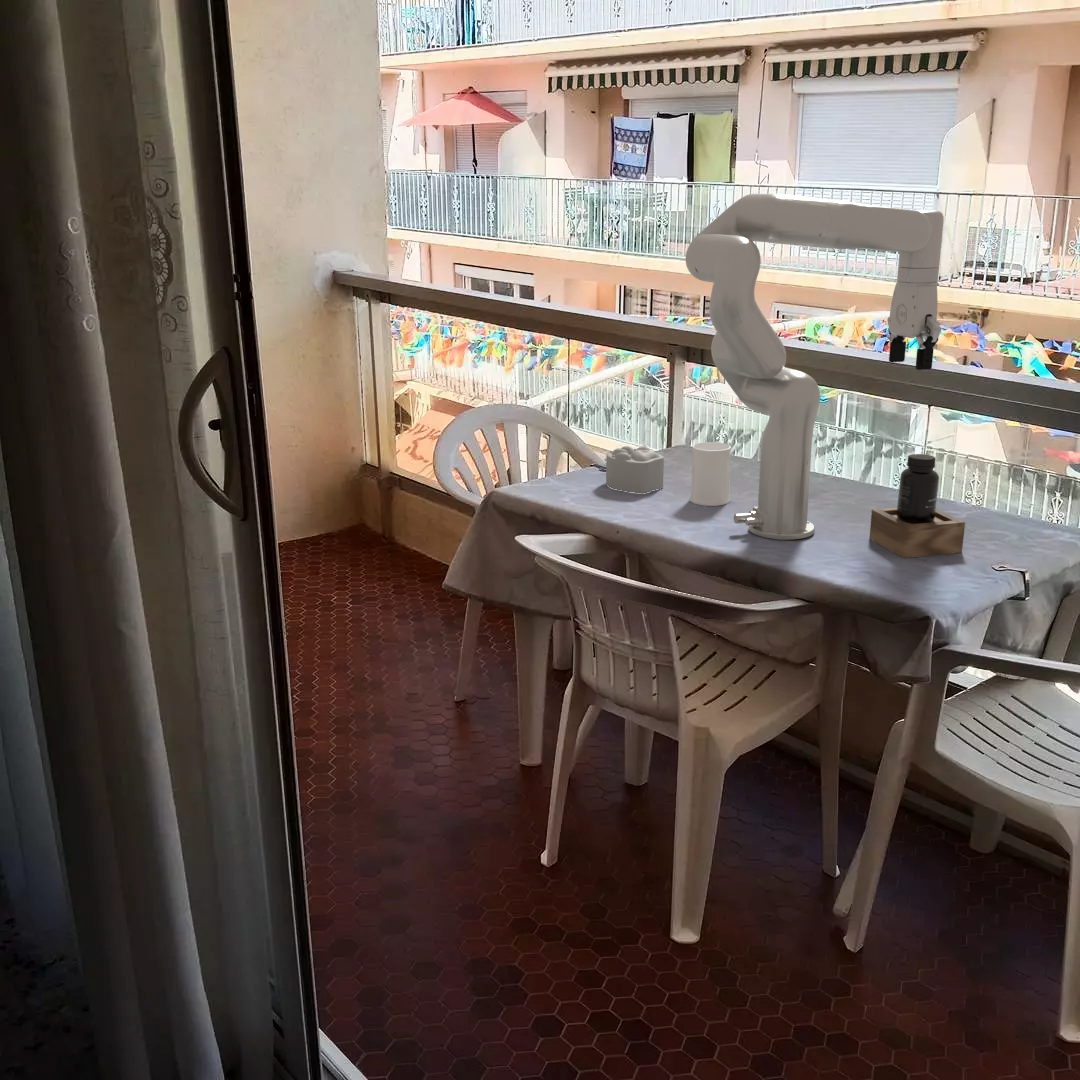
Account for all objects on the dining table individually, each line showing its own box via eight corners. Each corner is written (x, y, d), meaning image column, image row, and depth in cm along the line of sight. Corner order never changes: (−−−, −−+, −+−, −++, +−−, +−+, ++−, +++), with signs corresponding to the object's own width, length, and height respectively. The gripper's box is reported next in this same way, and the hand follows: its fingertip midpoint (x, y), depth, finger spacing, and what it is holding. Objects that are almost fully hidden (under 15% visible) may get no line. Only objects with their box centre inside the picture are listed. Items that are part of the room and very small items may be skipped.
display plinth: (903, 558, 201) (906, 527, 200) (869, 538, 213) (871, 509, 211) (961, 552, 204) (965, 522, 202) (925, 533, 215) (928, 504, 213)
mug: (711, 490, 247) (713, 437, 243) (745, 496, 242) (747, 442, 238) (682, 501, 238) (683, 447, 235) (716, 508, 233) (718, 452, 229)
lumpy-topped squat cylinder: (641, 496, 243) (641, 457, 240) (595, 486, 251) (595, 449, 249) (668, 486, 250) (669, 449, 248) (623, 477, 259) (623, 440, 256)
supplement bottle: (936, 525, 203) (943, 461, 199) (897, 523, 205) (903, 460, 201) (932, 515, 210) (939, 453, 206) (894, 513, 211) (900, 451, 207)
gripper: (876, 273, 221) (870, 360, 226) (925, 281, 205) (916, 373, 210) (910, 272, 223) (903, 358, 228) (961, 279, 207) (952, 371, 212)
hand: (909, 365), depth 219 cm, fingers open, 9 cm apart
